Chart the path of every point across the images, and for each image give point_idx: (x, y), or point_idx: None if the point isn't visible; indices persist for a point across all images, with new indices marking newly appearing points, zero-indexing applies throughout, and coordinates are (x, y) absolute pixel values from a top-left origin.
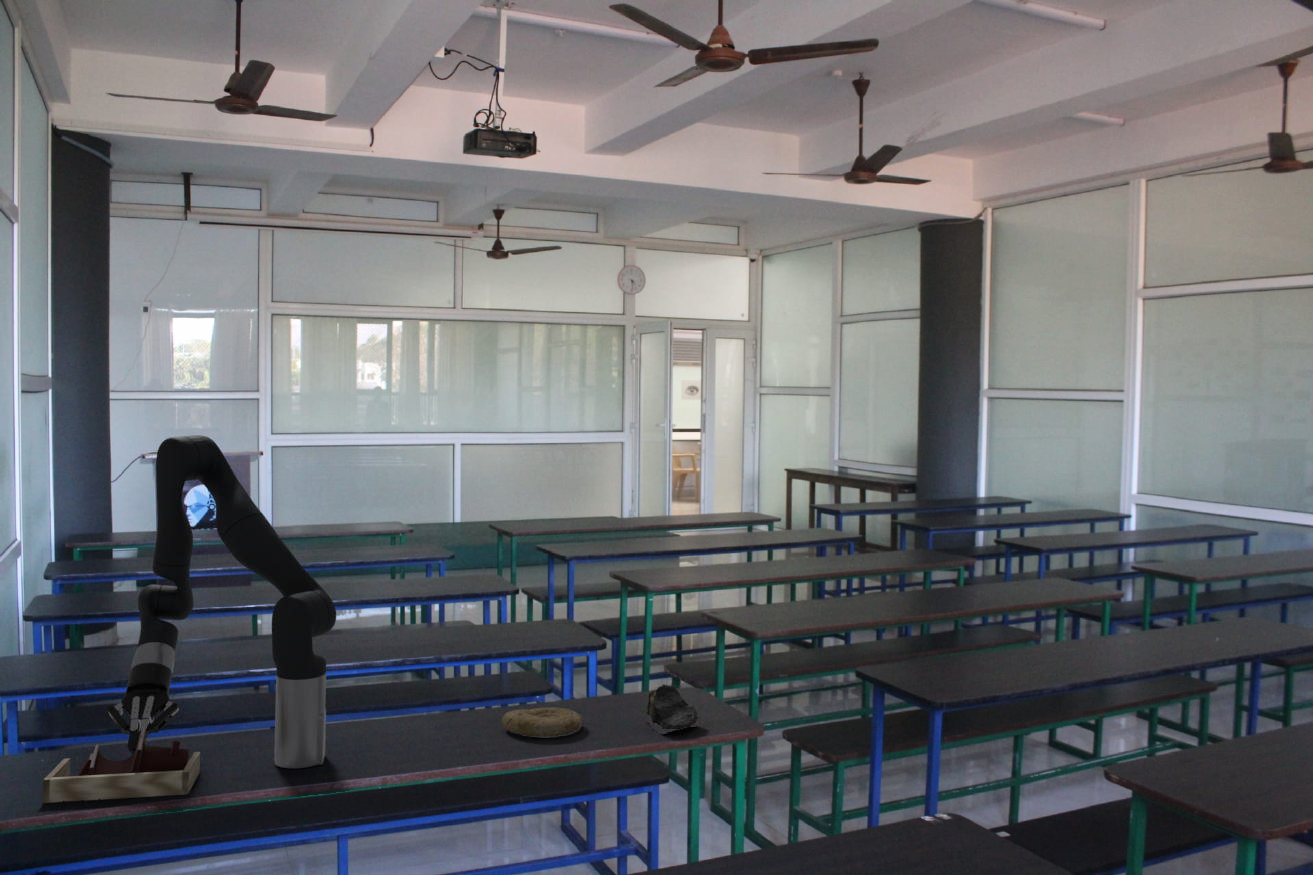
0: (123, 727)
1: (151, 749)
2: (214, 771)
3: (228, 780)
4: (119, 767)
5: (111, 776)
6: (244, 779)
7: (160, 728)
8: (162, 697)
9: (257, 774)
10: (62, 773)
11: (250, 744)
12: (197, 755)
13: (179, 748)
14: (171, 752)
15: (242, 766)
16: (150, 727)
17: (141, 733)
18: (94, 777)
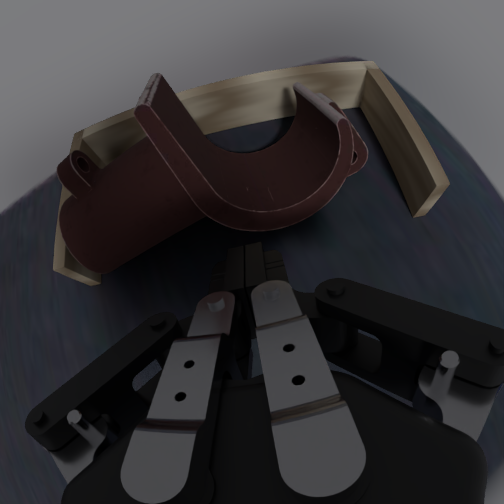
0: (331, 280)
1: (139, 143)
2: (66, 296)
3: (43, 239)
4: (268, 189)
5: (228, 79)
6: (24, 247)
7: (159, 372)
8: (88, 502)
9: (10, 275)
10: (399, 140)
11: (59, 484)
12: (56, 237)
13: (77, 210)
14: (92, 164)
15: (29, 327)
16: (186, 326)
17: (149, 93)
18: (267, 71)
